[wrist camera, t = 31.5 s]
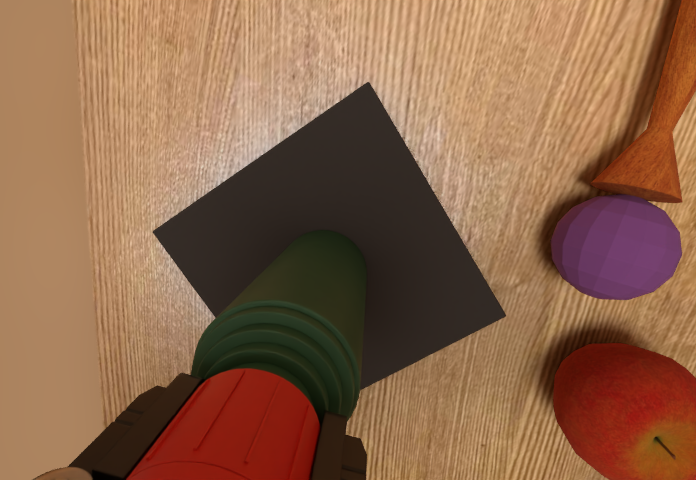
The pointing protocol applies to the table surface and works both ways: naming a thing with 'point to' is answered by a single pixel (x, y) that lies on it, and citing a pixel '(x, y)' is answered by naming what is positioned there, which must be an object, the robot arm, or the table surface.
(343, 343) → the bottle
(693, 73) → the kendama
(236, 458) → the cap
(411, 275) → the mat
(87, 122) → the table surface
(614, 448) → the apple
